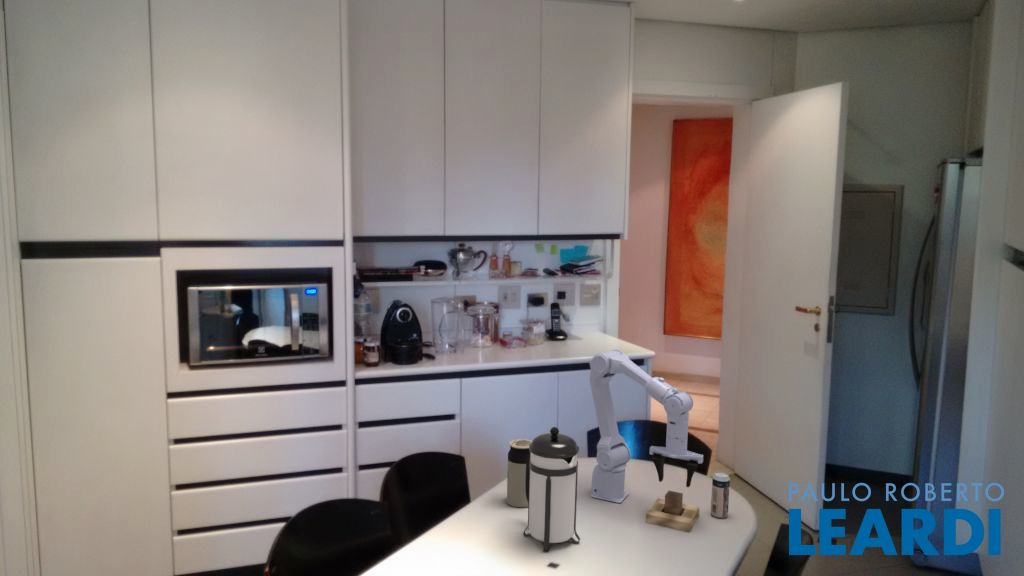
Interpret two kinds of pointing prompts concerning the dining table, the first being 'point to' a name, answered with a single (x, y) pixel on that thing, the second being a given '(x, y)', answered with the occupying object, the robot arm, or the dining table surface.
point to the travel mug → (517, 472)
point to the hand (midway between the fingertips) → (674, 483)
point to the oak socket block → (672, 516)
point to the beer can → (720, 495)
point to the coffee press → (552, 488)
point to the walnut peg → (673, 503)
